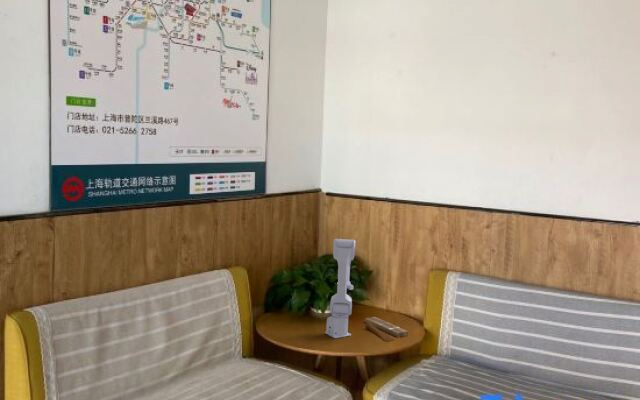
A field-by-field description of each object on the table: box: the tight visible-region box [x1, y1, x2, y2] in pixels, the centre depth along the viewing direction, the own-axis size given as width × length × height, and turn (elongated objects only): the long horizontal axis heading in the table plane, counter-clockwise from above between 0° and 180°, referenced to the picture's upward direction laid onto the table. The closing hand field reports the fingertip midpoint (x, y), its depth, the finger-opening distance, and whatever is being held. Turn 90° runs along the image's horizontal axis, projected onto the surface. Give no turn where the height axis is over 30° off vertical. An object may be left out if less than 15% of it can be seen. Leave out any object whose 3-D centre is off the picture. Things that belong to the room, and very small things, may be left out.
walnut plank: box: [364, 316, 409, 338], centre depth 275 cm, size 6×24×2 cm, turn 34°
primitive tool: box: [364, 322, 396, 343], centre depth 266 cm, size 19×6×4 cm, turn 31°
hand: (342, 300), depth 285 cm, fingers closed
